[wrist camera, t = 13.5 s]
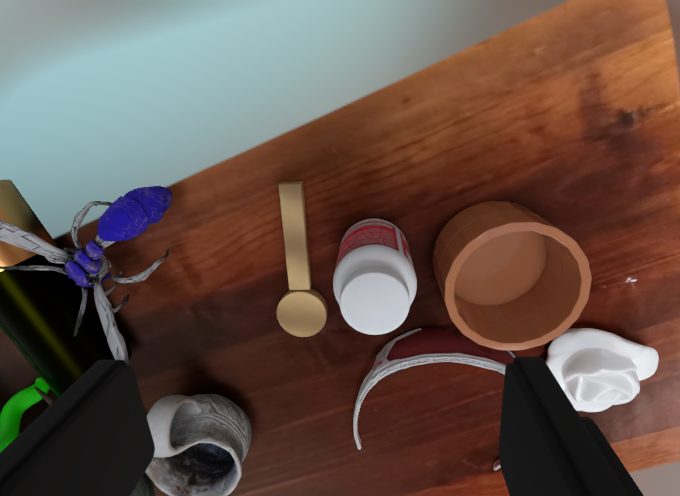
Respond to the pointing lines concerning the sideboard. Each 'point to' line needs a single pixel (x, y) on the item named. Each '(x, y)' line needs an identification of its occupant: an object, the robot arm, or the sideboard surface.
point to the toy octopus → (18, 411)
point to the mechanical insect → (98, 252)
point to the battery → (46, 305)
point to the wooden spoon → (298, 268)
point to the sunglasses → (428, 359)
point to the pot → (509, 276)
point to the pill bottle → (374, 277)
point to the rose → (599, 367)
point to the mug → (197, 444)
